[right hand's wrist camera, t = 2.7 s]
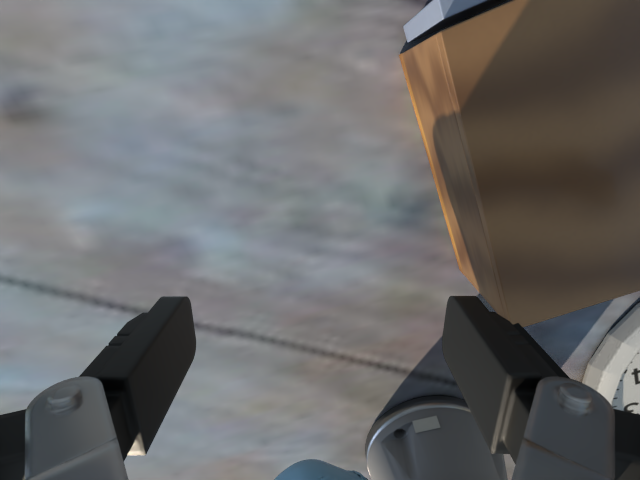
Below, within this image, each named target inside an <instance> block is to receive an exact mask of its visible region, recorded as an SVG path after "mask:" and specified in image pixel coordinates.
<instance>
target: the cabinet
mask: <svg viewBox="0 0 640 480" xmlns="http://www.w3.org/2000/svg"><path fill="white" fill-rule="evenodd" d="M399 57H400V60H401V64H402V67H403V71H404V74H405V78H406V81H407V85H408V88H409V92H410V96H411V99H412V103H413V106H414V110H415V113H416V117H417V120H418V124H419V127H420V131H421V134H422V138H423V142H424V145H425V149H426V152H427V156H428V159H429V163H430V166H431V170H432V173H433V177H434V180H435V184H436V188H437V191H438V195H439V198H440V202H441V205H442V209H443V212H444V216H445V219H446V223H447V226H448V230H449V234H450V237H451V241H452V244H453V248H454V251H455V255H456V258H457V262H458V265H459V269H460V271H461V272H462V273H463V274H464V275H465V276H466V277H467V279H468V280H469V281H470V282H471V283H472V284H473V286H474V287H475V288H476V289H477V290H478V291H479V293H480V294H481V295H482V296H483V297H484V298H485V300H486V301H487V302H488V303H489V304H490V305H491V307H492V308H493V309H494V310H495V311H496V312H497V314H499V315H500V316H502V317H504V318H505V319H507V320H508V321H510V322H511V323H512V324H516V323H519V324H520V325H521V326H522V327H526V326H529V325H532V324H535V323H538V322H542V321H545V320H548V319H551V318H554V317H557V316H561V315H564V314H567V313H570V312H573V311H576V310H580V309H583V308H586V307H589V306H592V305H596V304H599V303H602V302H605V301H608V300H611V299H615V298H618V297H621V296H624V295H627V294H630V293H634V292H637V291H640V0H512V1H510V2H507V3H505V4H503V5H500V6H498V7H496V8H493V9H491V10H489V11H486V12H484V13H482V14H479V15H477V16H475V17H472V18H470V19H468V20H465V21H463V22H461V23H458V24H456V25H454V26H451V27H449V28H447V29H444V30H442V31H440V32H438V33H437V34H435V35H433V36H431V37H430V38H428V39H426V40H424V41H423V42H421V43H419V44H417V45H416V46H414V47H412V48H411V49H409V50H407V51H405V52H404V53H402V54H400V55H399Z"/></svg>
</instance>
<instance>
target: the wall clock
mask: <svg viewBox="0 0 640 480" xmlns="http://www.w3.org/2000/svg"><path fill="white" fill-rule="evenodd" d="M582 383H583V384H585V385H587V386H589V387H591V388H593V389H594V390H596V391H597V392H599V393H600V394H601V395H602V396H604V397H605V398H606V399H607V400H608V401H609V403H610V404H611V406H612V407H613V409H617V410H622V411H626V412H631V413H635V414H640V303H638V304H637V305H636V306H635V307H634V308H633V309H632V310H631V311H630V312H629V313H628V314H627V315H626V316H625V317H624V318H623V319H622V320H621V321H620V322H619V323H618V324H617V325H616V326H615V327H614V328H613V329H612V330H610V331H609V332H608V334H607V335H606V337H605V338H604V340H603V341H602V343H601V344H600V346H599V347H598V349H597V351H596V352H595V354H594V355H593V357H592V358H591V360H590V361H589V363H588V366H587V369H586V372H585V375H584V378H583V381H582Z"/></svg>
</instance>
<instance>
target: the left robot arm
mask: <svg viewBox="0 0 640 480" xmlns="http://www.w3.org/2000/svg"><path fill="white" fill-rule="evenodd" d="M513 325H514V327H515V328H516V329H517V330H518V331H519V332H520V335H522V336H523V337H524V338H525V339H526V340H527V341H528V342H529V345H531V346H532V347H533V348H534V349H535V350H536V351H537V353H538V354H539V355H540V356H541V357H542V358H543V359H544V361H545V362H546V363H547V364H548V365H549V366H550V367H551V368H552V370H553V371H554V372H555V373H556V374H557V375H558V376H559V377H565V378H569V377H568V376H567V375H566V374H565V373H564V371H563V370H562V369H561V368H560V367H559V366H558V365H557V364H556V363H555V362H554V361H553V360H552V359H551V357H550V356H549V355H548V354H547V353H546V352H545V351H544V350H543V349H542V348H541V347H540V346H539V345H538V343H537V342H536V341H535V340H534V339H533V338H532V337H531V336H530V335H529V334H528V333H527V332H526V331H525V329H524V328H523V327H522V326H521V325H520V324H519V323H516V324H513ZM569 379H570V378H569ZM365 454H366V461H367V467H368V471H369V474H370V476H371V479H372V480H508V479H507V473H506V467H505V461H504V455H503V454H491V452H490V450H489V448H488V446H487V443H486V441H485V439H484V437H483V435H482V433H481V431H480V429H479V427H478V425H477V423H476V421H475V419H474V417H473V415H472V413H471V411H470V409H469V407H468V405H467V403H466V401H465V400H462V399H459V398H455V397H449V396H427V397H420V398H416V399H412V400H409V401H406V402H404V403H401V404H399V405H397V406H395V407H394V408H392V409H390V410H389V411H387V412H386V413H385V414H384V415H382V416H381V417H380V418H379V419H378V420H377V421H376V423H375V424H374V425H373V426H372V428H371V430H370V432H369V434H368V436H367V439H366V444H365ZM274 480H368V479H367V478H365V477H364V476H363V475H362V474H360V473H359V472H357V471H354V470H353V471H346V470H344V469H341V468H339V467H336V466H334V465H331V464H329V463H326V462H324V461H321V460H315V459H308V460H303V461H300V462H297V463H295V464H293V465H291V466H290V467H288V468H287V469H285V470H284V471H283V472H282V473H280V474H279V475H278V476H277V477H276V478H275V479H274Z"/></svg>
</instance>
